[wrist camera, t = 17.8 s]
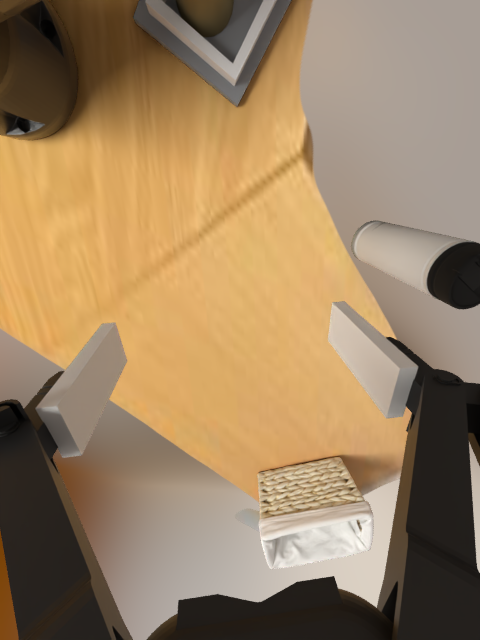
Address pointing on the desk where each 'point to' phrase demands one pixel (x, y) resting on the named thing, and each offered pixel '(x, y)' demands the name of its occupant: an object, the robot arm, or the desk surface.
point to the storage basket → (312, 514)
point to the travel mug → (423, 260)
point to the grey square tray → (216, 41)
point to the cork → (206, 15)
